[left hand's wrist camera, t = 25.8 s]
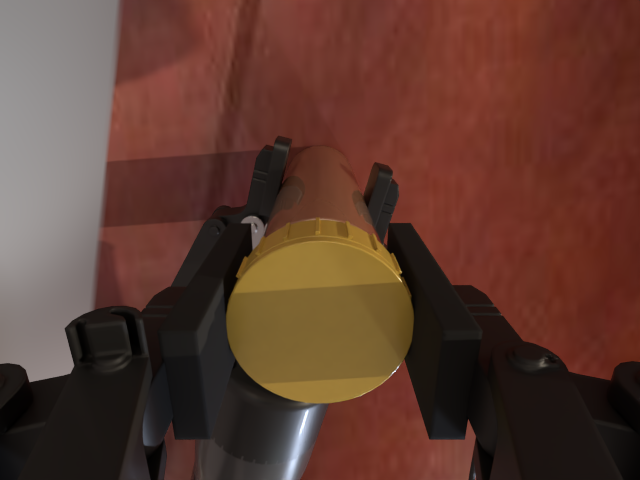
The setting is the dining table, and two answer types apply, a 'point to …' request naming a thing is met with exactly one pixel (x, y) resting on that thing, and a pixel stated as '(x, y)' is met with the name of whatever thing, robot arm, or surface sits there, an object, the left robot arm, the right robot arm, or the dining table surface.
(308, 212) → the jar
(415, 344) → the left robot arm
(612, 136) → the dining table surface
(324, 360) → the lid
